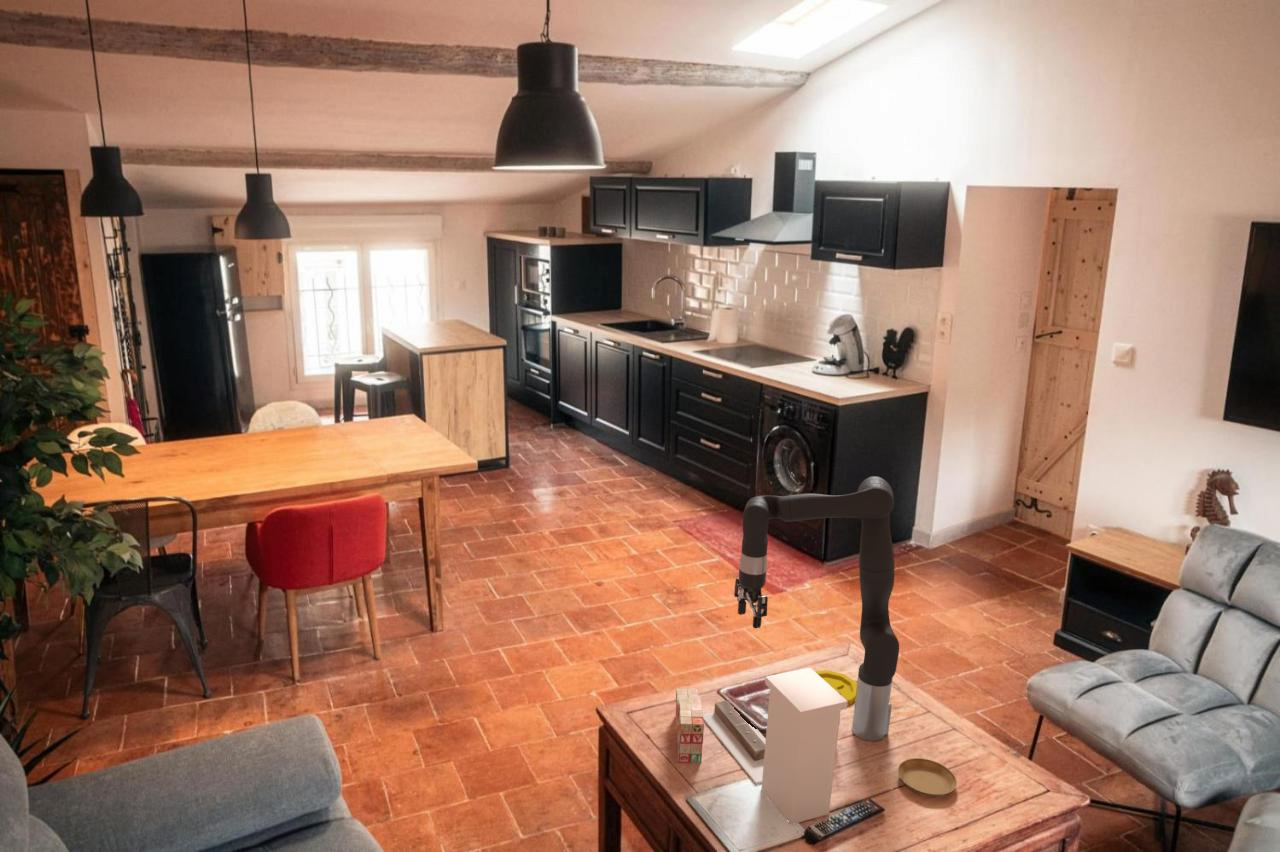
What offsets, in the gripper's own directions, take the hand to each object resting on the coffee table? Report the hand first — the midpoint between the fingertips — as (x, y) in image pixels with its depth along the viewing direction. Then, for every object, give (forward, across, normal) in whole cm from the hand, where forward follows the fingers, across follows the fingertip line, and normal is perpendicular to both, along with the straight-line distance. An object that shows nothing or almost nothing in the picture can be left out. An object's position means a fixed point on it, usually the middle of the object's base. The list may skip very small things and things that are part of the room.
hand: (748, 620), depth 252 cm
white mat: (+30, -13, +6) cm, 33 cm away
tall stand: (+30, -38, +6) cm, 49 cm away
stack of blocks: (+30, -6, +20) cm, 37 cm away
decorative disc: (+31, +2, -32) cm, 44 cm away
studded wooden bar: (+30, -9, +6) cm, 31 cm away
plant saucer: (+31, -44, -30) cm, 62 cm away
